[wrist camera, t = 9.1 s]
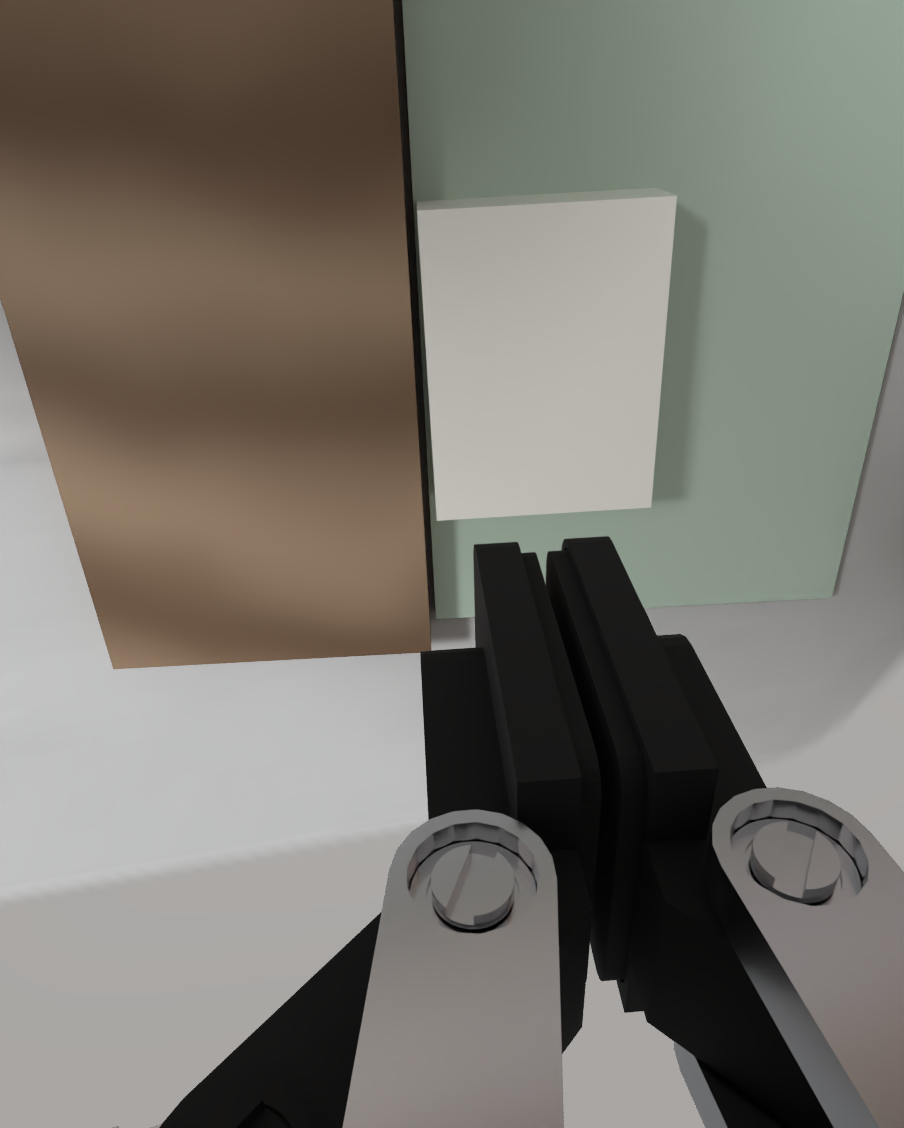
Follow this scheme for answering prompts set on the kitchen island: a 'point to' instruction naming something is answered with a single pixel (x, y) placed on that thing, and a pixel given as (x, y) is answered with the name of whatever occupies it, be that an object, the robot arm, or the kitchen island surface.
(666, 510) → the mat
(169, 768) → the kitchen island surface
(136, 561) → the riser
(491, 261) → the tile
